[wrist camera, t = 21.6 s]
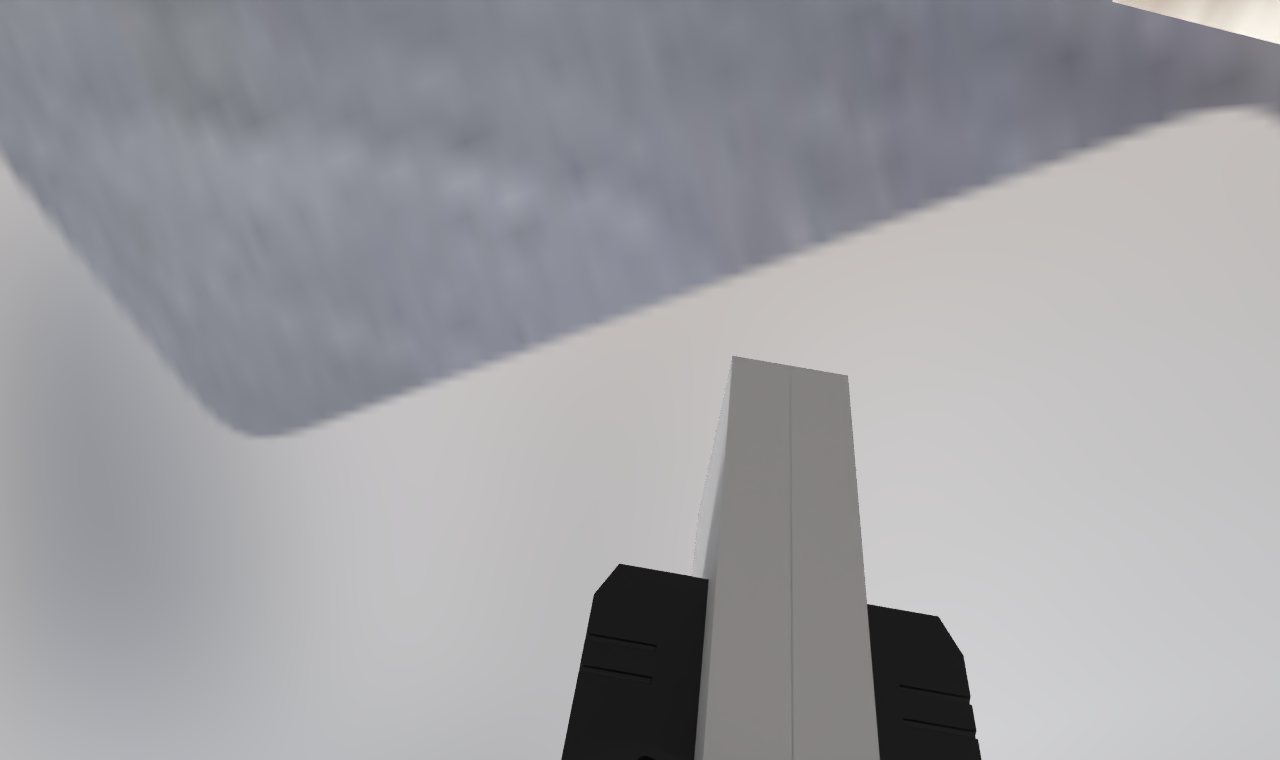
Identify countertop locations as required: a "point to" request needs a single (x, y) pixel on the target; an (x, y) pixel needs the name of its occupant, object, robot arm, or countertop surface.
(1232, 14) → the domino
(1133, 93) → the countertop surface
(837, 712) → the robot arm
